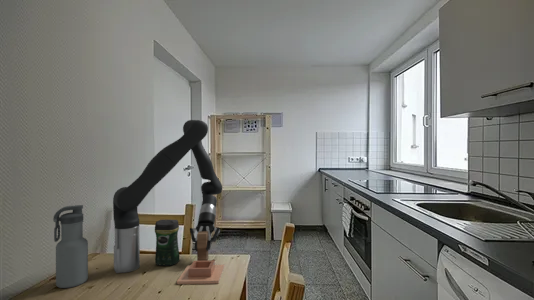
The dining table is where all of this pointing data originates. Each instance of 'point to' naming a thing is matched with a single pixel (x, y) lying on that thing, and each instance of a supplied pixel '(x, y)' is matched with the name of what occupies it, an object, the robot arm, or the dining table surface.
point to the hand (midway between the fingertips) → (202, 250)
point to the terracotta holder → (201, 273)
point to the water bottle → (70, 248)
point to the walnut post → (202, 246)
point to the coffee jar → (166, 242)
